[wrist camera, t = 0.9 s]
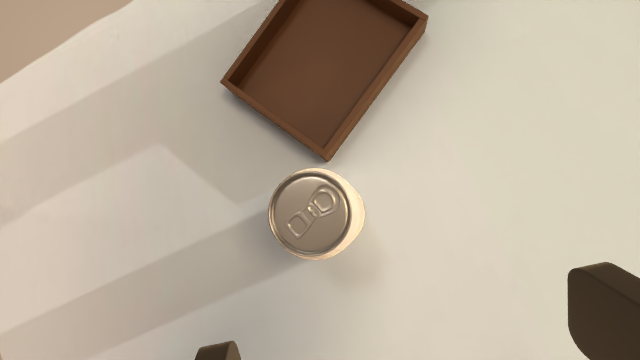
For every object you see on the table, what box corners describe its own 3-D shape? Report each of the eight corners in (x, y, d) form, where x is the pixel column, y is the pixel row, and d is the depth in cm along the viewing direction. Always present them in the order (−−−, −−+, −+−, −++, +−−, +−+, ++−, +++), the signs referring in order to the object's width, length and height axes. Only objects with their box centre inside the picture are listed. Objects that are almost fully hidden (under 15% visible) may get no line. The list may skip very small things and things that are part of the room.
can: (379, 216, 34) (380, 217, 22) (330, 260, 34) (305, 284, 23) (334, 167, 35) (313, 144, 24) (287, 211, 36) (242, 209, 24)
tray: (320, -32, 38) (315, -51, 35) (424, 31, 35) (428, 15, 32) (231, 91, 38) (219, 81, 35) (328, 162, 35) (324, 157, 33)
